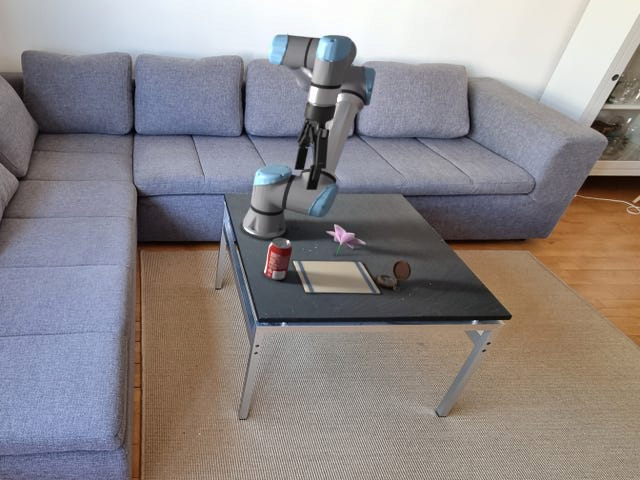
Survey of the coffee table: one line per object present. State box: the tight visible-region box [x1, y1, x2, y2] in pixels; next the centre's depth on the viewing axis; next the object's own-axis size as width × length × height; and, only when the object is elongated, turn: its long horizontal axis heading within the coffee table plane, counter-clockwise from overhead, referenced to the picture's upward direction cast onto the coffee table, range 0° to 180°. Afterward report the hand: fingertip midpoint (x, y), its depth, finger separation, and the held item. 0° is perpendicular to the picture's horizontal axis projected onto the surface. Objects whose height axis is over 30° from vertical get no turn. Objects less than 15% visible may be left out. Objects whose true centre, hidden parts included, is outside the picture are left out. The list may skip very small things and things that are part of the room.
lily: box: [325, 224, 367, 256], centre depth 147 cm, size 12×12×10 cm
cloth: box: [292, 260, 381, 295], centre depth 137 cm, size 16×22×1 cm
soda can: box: [263, 237, 293, 281], centre depth 134 cm, size 7×7×12 cm
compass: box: [375, 259, 412, 292], centre depth 132 cm, size 8×8×7 cm
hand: (304, 179), depth 127 cm, fingers open, 13 cm apart
